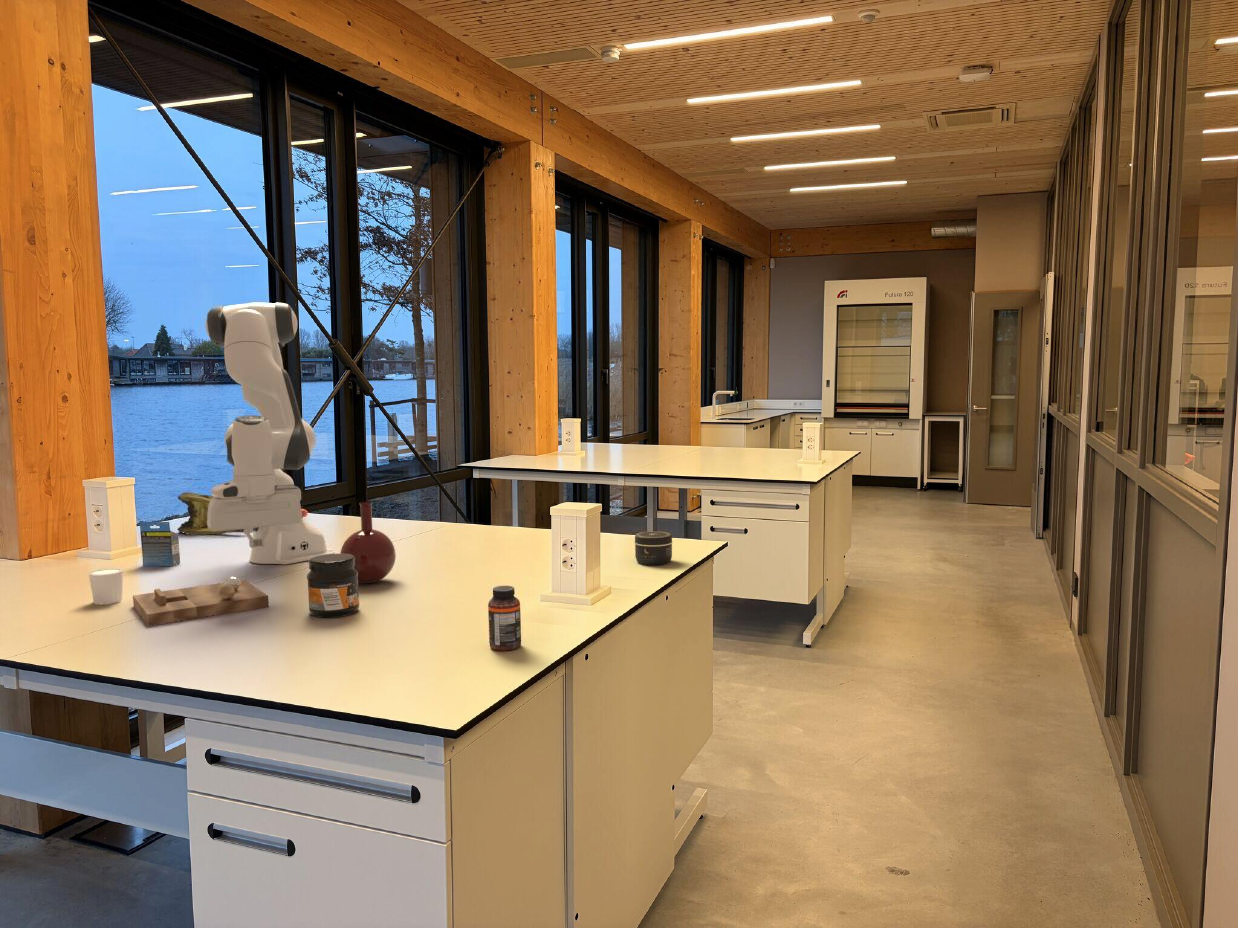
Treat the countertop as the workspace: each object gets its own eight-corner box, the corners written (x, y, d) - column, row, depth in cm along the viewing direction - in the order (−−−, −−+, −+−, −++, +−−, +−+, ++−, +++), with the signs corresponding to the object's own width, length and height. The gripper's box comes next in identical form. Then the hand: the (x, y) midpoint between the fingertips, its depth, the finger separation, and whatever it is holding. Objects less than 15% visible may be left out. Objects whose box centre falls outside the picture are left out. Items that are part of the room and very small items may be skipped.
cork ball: (233, 596, 198) (232, 582, 198) (236, 599, 196) (235, 585, 195) (217, 598, 196) (216, 584, 196) (221, 601, 194) (220, 587, 193)
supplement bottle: (490, 642, 170) (488, 584, 169) (521, 641, 171) (520, 583, 169) (488, 652, 164) (486, 592, 163) (521, 651, 165) (519, 591, 163)
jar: (629, 565, 236) (629, 536, 235) (642, 557, 245) (642, 530, 244) (665, 567, 232) (665, 538, 231) (677, 559, 241) (677, 532, 241)
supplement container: (331, 621, 186) (328, 564, 185) (298, 614, 192) (295, 559, 191) (370, 609, 195) (367, 555, 194) (337, 603, 201) (334, 551, 200)
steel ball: (239, 588, 206) (238, 574, 206) (242, 590, 203) (241, 577, 203) (224, 590, 204) (223, 576, 204) (227, 593, 202) (226, 579, 201)
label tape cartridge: (181, 563, 246) (178, 519, 245) (172, 566, 242) (169, 521, 241) (150, 563, 247) (147, 519, 246) (141, 566, 243) (138, 521, 242)
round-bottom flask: (407, 579, 224) (404, 499, 222) (372, 591, 212) (368, 507, 210) (366, 574, 229) (362, 497, 227) (329, 586, 217) (325, 504, 215)
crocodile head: (156, 522, 285) (173, 484, 295) (187, 550, 298) (201, 513, 307) (233, 514, 280) (247, 476, 290) (260, 543, 293) (273, 506, 302)
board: (245, 589, 215) (244, 571, 215) (268, 606, 199) (267, 586, 199) (133, 606, 201) (132, 586, 201) (148, 626, 185) (146, 604, 184)
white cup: (132, 598, 208) (129, 569, 207) (106, 606, 202) (104, 575, 201) (109, 596, 210) (107, 567, 210) (83, 604, 204) (81, 573, 203)
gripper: (296, 482, 213) (299, 540, 214) (203, 489, 201) (206, 549, 203) (304, 484, 208) (307, 543, 209) (209, 491, 196) (213, 553, 197)
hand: (257, 546), depth 206 cm, fingers closed
